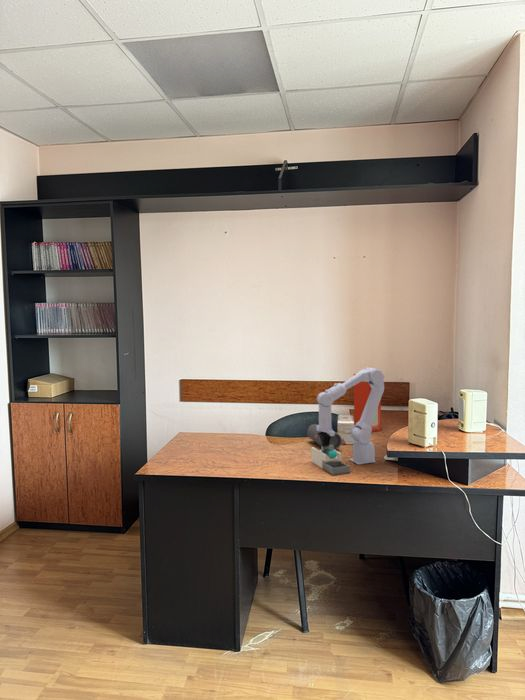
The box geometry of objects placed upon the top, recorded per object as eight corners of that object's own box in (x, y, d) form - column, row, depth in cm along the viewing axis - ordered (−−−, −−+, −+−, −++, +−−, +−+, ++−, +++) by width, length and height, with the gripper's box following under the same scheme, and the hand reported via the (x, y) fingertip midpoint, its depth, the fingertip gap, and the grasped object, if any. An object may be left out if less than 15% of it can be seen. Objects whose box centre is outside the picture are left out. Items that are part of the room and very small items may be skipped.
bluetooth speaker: (306, 442, 259) (305, 423, 258) (321, 440, 262) (321, 422, 262) (326, 453, 238) (325, 433, 237) (342, 450, 241) (342, 431, 240)
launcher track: (326, 459, 227) (326, 445, 227) (341, 468, 214) (341, 453, 214) (311, 461, 225) (311, 447, 224) (325, 470, 211) (325, 455, 211)
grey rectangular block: (331, 453, 219) (331, 444, 219) (333, 454, 217) (333, 445, 217) (321, 454, 218) (321, 445, 217) (323, 455, 216) (323, 446, 215)
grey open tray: (340, 467, 215) (340, 460, 215) (349, 473, 207) (349, 466, 207) (323, 469, 212) (323, 463, 212) (332, 475, 205) (332, 468, 205)
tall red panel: (368, 432, 277) (368, 377, 274) (353, 425, 293) (353, 373, 291) (381, 431, 279) (380, 376, 277) (365, 424, 296) (365, 373, 293)
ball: (338, 457, 211) (335, 457, 215) (337, 449, 212) (334, 449, 215) (331, 458, 210) (327, 458, 213) (330, 450, 211) (326, 450, 214)
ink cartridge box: (337, 444, 252) (337, 417, 251) (337, 442, 257) (337, 415, 256) (354, 444, 251) (354, 417, 250) (353, 442, 256) (353, 415, 255)
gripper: (310, 416, 224) (310, 445, 225) (324, 422, 210) (324, 453, 211) (323, 415, 226) (324, 443, 227) (338, 421, 212) (339, 451, 213)
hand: (325, 448), depth 219 cm, fingers closed
